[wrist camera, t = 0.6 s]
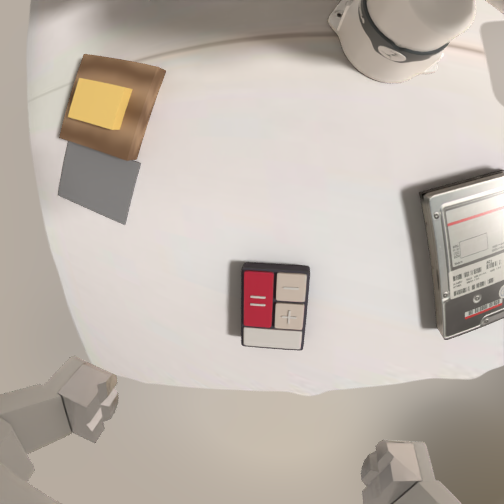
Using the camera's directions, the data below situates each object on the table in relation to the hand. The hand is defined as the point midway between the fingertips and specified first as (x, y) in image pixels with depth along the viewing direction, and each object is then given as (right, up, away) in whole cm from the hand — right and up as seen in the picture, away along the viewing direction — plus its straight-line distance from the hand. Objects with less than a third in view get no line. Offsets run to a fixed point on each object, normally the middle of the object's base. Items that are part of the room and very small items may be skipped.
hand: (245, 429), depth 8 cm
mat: (-29, +18, +45) cm, 57 cm away
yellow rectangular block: (-25, +30, +37) cm, 54 cm away
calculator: (+4, -4, +49) cm, 49 cm away
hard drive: (+40, +5, +40) cm, 57 cm away
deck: (-24, +31, +40) cm, 56 cm away
